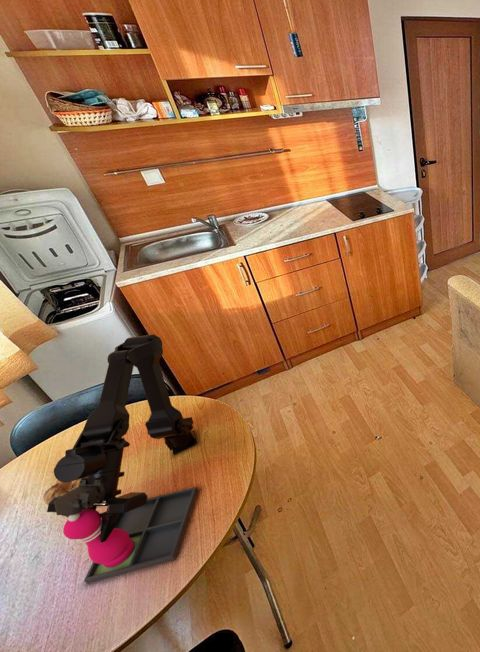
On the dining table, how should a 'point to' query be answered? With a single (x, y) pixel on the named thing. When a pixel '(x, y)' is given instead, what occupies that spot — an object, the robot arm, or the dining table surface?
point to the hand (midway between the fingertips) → (92, 541)
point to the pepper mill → (88, 531)
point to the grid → (151, 533)
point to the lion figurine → (57, 490)
